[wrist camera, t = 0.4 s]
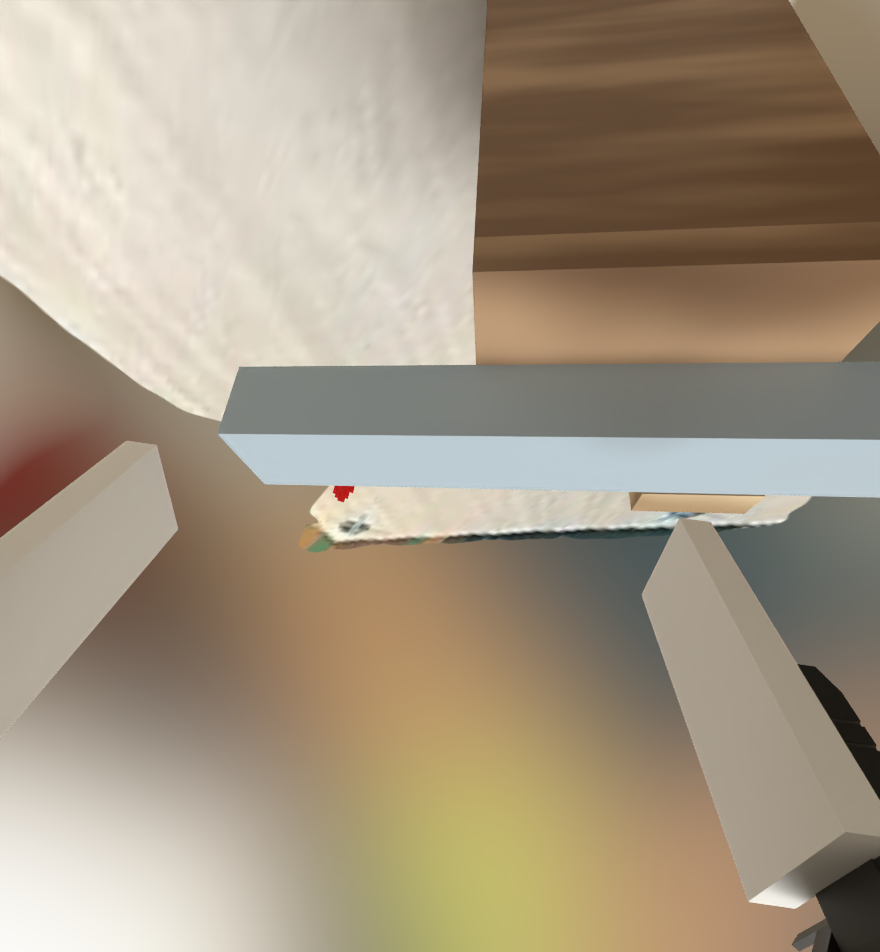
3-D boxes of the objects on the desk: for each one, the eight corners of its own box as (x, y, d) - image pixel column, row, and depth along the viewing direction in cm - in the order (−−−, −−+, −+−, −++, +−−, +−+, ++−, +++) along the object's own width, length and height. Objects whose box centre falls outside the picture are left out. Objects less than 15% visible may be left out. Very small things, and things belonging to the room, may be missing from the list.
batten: (239, 367, 18) (217, 434, 17) (941, 361, 15) (982, 440, 14) (280, 424, 22) (264, 483, 20) (857, 428, 19) (883, 497, 18)
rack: (492, -96, 27) (468, 335, 13) (716, -122, 26) (982, 328, 11) (492, 134, 38) (479, 513, 23) (650, 124, 36) (743, 520, 22)
